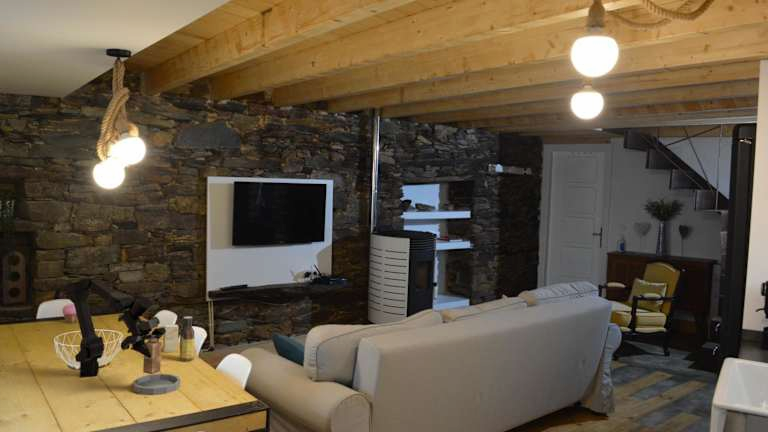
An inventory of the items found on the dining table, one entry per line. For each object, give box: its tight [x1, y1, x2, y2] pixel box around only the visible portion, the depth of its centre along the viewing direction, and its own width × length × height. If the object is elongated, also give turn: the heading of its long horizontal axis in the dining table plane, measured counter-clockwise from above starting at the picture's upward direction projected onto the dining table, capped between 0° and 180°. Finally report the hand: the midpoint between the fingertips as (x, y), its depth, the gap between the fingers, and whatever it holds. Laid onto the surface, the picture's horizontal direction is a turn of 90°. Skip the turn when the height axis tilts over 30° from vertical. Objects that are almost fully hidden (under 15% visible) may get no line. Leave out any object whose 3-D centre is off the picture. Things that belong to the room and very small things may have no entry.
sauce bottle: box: [179, 315, 195, 362], centre depth 269 cm, size 6×6×20 cm
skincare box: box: [162, 323, 179, 353], centre depth 282 cm, size 6×4×12 cm
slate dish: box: [132, 373, 181, 396], centre depth 234 cm, size 17×17×2 cm
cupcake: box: [61, 303, 78, 324], centre depth 326 cm, size 9×9×10 cm
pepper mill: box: [142, 338, 162, 375], centre depth 230 cm, size 4×4×13 cm
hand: (155, 355), depth 230 cm, fingers closed on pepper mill, 4 cm apart
